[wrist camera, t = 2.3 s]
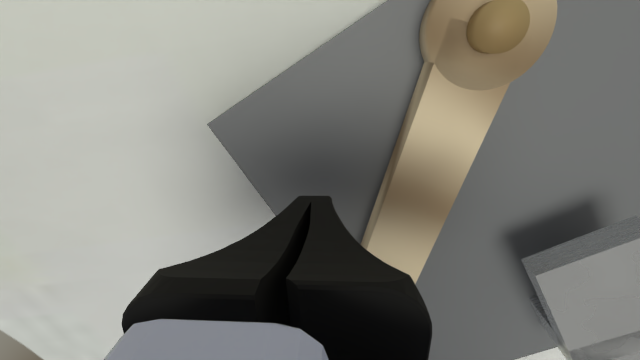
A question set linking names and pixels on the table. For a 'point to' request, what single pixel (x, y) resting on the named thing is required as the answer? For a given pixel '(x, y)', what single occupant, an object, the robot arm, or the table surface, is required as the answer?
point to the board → (486, 170)
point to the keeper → (591, 293)
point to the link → (451, 116)
